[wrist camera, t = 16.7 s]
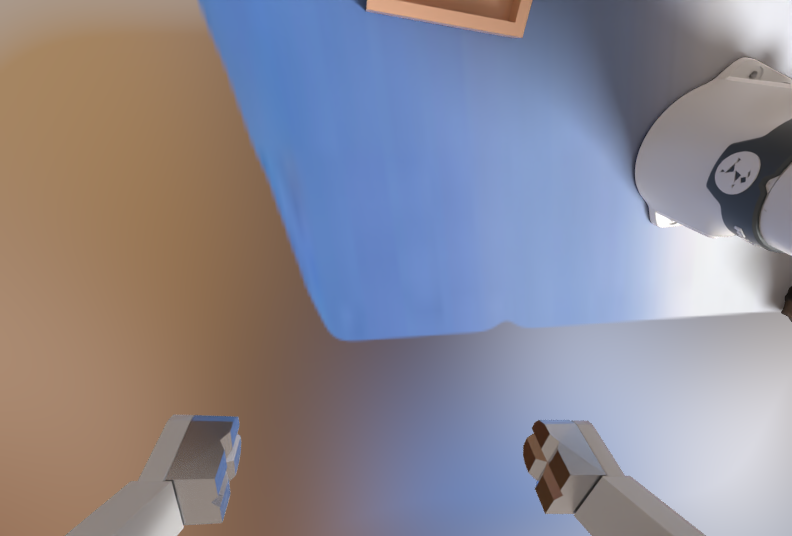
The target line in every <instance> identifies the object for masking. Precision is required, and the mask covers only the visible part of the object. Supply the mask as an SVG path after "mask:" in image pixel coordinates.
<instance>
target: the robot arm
mask: <svg viewBox="0 0 792 536" xmlns="http://www.w3.org/2000/svg"><path fill="white" fill-rule="evenodd" d="M750 74H751V75H750ZM749 75H750V77H749ZM635 181H636V185H637V188H638V191H639V193H640V194H641V196H642V197H643V199H644V200H645V201H646V203H647V204H648V206H649V215H650V220H651V223H652V224H653V225H656V226H658V227H661V228H664V227H675V226H685V227H687V228H690V229H692V230H694V231H696V232H698V233H700V234H702V235H705V236H707V237H709V238H713V239H716V238H718V237H729V236H735V235H737V236H739V237H741V238H743V240H745V241H747V242H749V243H751V244H753V245H755V246H758V247H762V248H765V249H767V250H769V251H773V252H778V253H787V254H789V255H791V256H792V79H791V78H789V77H787V76H785V75H783V74H782V73H780V72H778V71H776V70H774V69H772V68H770V67H769V66H767V65H765V64H763V63H761V62H759V61H758V60H756V59H752V58H747V57H743V58H740V59H738V60H736V61H735V62H733V63H732V64H731V65H730V66H728V67H727V68H726V69H725V70H724V71H723V72H722V73H720V74H719V75H718V76H717V77H716V78H715V79H713V80H712V81H710V82H708V83H707V84H704V85H702V86H700V87H698V88H696V89H694V90H692V91H690V92H689V93H687V94H685V95H684V96H682V97H681V98H679V99H678V100H677V101H675V102H674V103H673V104H672V105H671V106H670V107H669V108H667V109H666V110H665V111H664V112H663V114H662V115H661V116H660V117H659V118H658V119H657V120H656V122H655V123H654V124H653V126H652V127H651V129H650V130H649V132H648V133H647V135H646V137H645V139H644V141H643V143H642V145H641V147H640V150H639V153H638V156H637V160H636V166H635ZM238 429H239V419H238V417H231V416H229V417H228V416H202V415H173V416H172V417H171V418H170V419H169V420H168V421H167V423H166V425H165V427H164V429H163V431H162V433H161V435H160V437H159V439H158V441H157V443H156V445H155V447H154V449H153V451H152V453H151V455H150V457H149V459H148V462H147V463H146V465H145V468H144V469H143V472H142V473H141V475H140V477H139V480H138V481H131V482H129V483H128V484H127V485H126V486H124V487H123V488H122V489H121V490H120V491H119V492H117V493H116V494H115V495H114V496H112V497H111V498H110V499H109V500H107V501H106V502H105V503H104V504H103V505H102V506H100V507H99V508H98V509H97V510H95V511H94V512H93V513H92V514H90V515H89V516H88V517H87V518H86V519H84V520H83V521H82V522H81V523H80V524H78V525H77V526H76V527H75V528H74V529H72V530H71V531H70V532H69V533H67V534H66V535H65V536H177V535H178V534H179V533H180V531H181V530H182V529H183V528H184V527H183V525H196V524H212V523H222V522H223V519H224V515H225V512H226V508H227V504H228V501H229V497H230V486H229V481H230V480H231V479H232V478H233V477H234V476H235V475H236V472H237V468H238V464H239V458H240V453H241V436H240V435H238V434H237V432H238ZM532 430H533V432H534V434H532V435H531V436H529V437H528V438H527V439H526V441H525V443H524V445H523V457H524V461H525V465H526V468H527V470H528V472H529V473H530V474H531V475H532V476H533V477H534V478H535V479H536V480H537V482H536V487H535V490H536V492H537V494H538V497H539V500H540V502H541V505H542V507H543V509H544V512H545V514H575V515H574V516H575V517H576V519H577V520H578V521H579V522H580V523H581V524H582V525H583V526H584V527H585V528H586V530H587V531H588V532H589V533H590V534H591V535H592V536H706V535H704V534H703V533H702V532H701V531H699V530H698V529H696V528H695V527H694V526H693V525H692V524H690V523H689V522H688V521H686V520H685V519H684V518H683V517H681V516H680V515H679V514H678V513H676V512H675V511H674V510H673V509H671V508H670V507H669V506H668V505H666V504H665V503H664V502H662V501H661V500H660V499H659V498H657V497H656V496H655V495H654V494H652V493H651V492H650V491H648V490H647V489H646V488H645V487H643V486H642V485H641V484H640V483H638V482H637V481H636V480H634V479H633V478H632V477H631V476H625V475H624V473H623V472H622V470H621V469H620V467H619V465H618V464H617V462H616V461H615V459H614V458H613V456H612V454H611V453H610V451H609V450H608V448H607V447H606V445H605V443H604V442H603V440H602V439H601V437H600V436H599V434H598V432H597V431H596V429H595V428H594V426H593V425H592V424H591V423H590V422H589V421H570V420H538V421H536V422H535V423H534V425H533V427H532Z"/></svg>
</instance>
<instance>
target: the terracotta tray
mask: <svg viewBox="0 0 792 536" xmlns="http://www.w3.org/2000/svg"><path fill="white" fill-rule="evenodd" d="M531 4H532V0H367V2H366V12H372V13H377V14H383V15H388V16H394V17H399V18H405V19H410V20H416V21H421V22H427V23H432V24H438V25H443V26H449V27H454V28H460V29H465V30H471V31H476V32H482V33H487V34H493V35H498V36H503V37H509V38H522V37H523V33H524V30H525V26H526V22H527V18H528V15H529V11H530V7H531Z"/></svg>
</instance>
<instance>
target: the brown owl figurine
mask: <svg viewBox="0 0 792 536" xmlns="http://www.w3.org/2000/svg"><path fill="white" fill-rule="evenodd" d="M781 313H782V314H784V315H786V316H788V317H789V319H790V320H791V322H792V287H790V288H789V290H788V293H787V295H786V296H785V305H784V308H783V310H782V312H781Z"/></svg>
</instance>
